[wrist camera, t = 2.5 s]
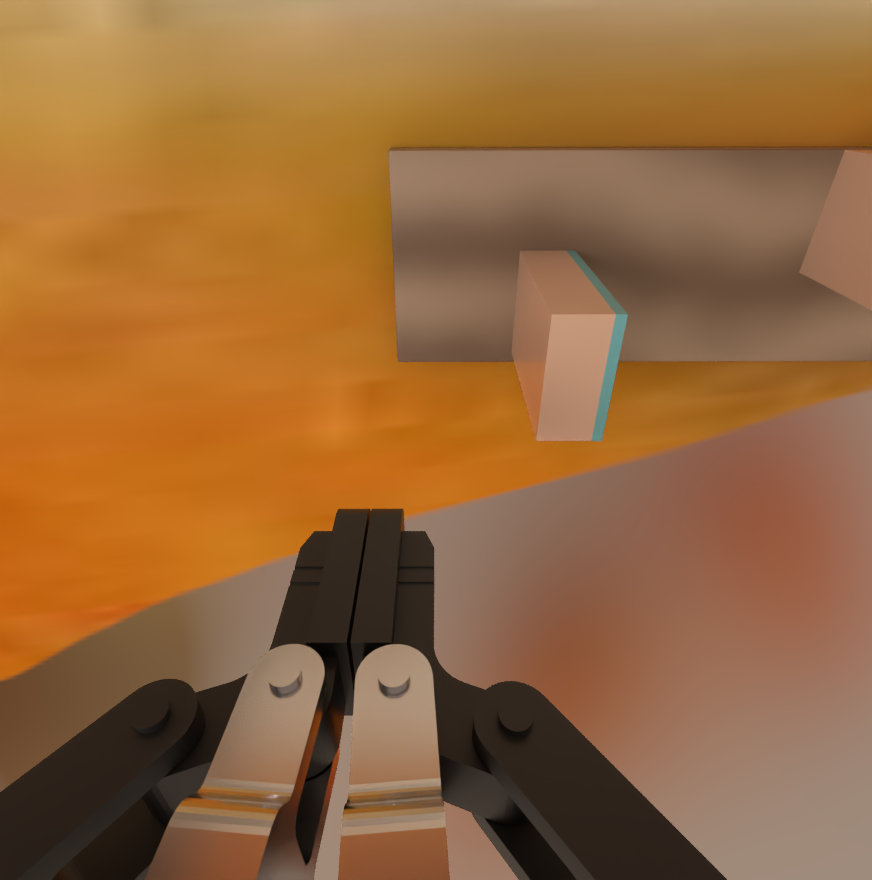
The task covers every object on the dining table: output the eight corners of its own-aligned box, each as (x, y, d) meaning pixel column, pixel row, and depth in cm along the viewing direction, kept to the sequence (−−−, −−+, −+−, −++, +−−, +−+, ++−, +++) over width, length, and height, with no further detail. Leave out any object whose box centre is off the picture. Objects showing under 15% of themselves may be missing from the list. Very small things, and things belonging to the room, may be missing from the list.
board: (390, 147, 23) (388, 150, 22) (1042, 146, 23) (1070, 149, 22) (399, 351, 28) (397, 361, 27) (929, 351, 28) (947, 360, 27)
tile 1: (519, 250, 24) (551, 314, 18) (575, 250, 24) (628, 314, 18) (511, 352, 27) (536, 440, 20) (560, 352, 27) (601, 440, 20)
